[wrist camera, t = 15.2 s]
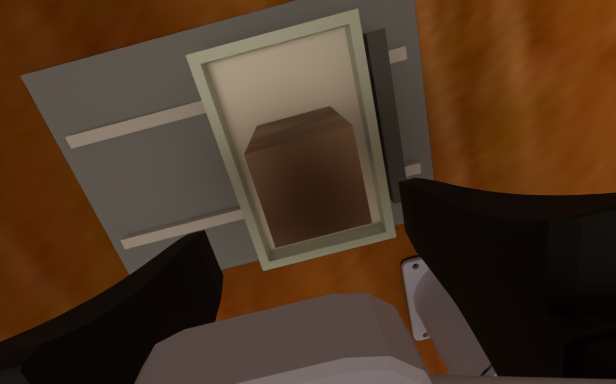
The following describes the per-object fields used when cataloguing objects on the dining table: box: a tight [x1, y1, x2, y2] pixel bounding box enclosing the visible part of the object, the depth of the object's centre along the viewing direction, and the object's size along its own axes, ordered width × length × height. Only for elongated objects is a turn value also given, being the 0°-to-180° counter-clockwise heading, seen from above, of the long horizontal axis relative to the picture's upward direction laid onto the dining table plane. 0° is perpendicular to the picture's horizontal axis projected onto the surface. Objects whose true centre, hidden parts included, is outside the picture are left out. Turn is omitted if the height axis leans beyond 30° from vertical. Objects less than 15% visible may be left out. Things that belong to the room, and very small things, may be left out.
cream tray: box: [186, 9, 396, 271], centre depth 18 cm, size 8×12×3 cm, turn 14°
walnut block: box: [244, 106, 372, 248], centre depth 15 cm, size 4×4×6 cm
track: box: [21, 0, 434, 275], centre depth 20 cm, size 22×15×2 cm
